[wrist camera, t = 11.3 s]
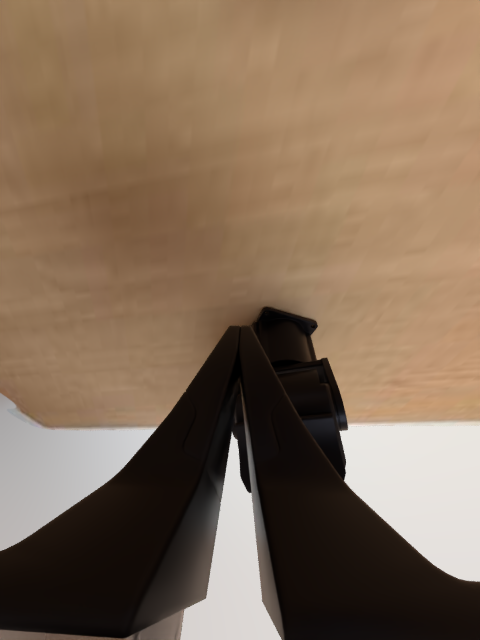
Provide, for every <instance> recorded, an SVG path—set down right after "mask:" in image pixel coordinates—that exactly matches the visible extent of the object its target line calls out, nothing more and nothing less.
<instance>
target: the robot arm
mask: <svg viewBox="0 0 480 640" xmlns="http://www.w3.org/2000/svg"><path fill="white" fill-rule="evenodd" d="M266 312H268V313H266ZM311 325H313V326H311ZM317 327H318V325H317V322H316V321H313V320H310V319H306V318H303V317H299V316H296V315H292V314H289V313H286V312H282V311H279V310H275V309H272V308H268V307H266V308H264V309H263V310H262V312H261V314H260V315H259V317H258V319H257V321H256V322H254V323H253V324H252V326H241V327H240V326H229V328H228V329H227V330H226V332H225V333H224V335H223V336H222V338H221V339H220V341H219V342H218V344H217V345H216V347H215V348H214V350H213V351H212V353H211V354H210V355H209V357H208V358H207V360H206V361H205V363H204V364H203V366H202V367H201V369H200V370H199V372H198V373H197V375H196V376H195V378H194V379H193V380H192V382H191V383H190V385H189V386H188V388H187V389H186V392H184V394H183V395H182V396H181V398H180V399H179V401H178V402H177V404H176V405H175V406H174V408H173V409H172V411H171V412H170V413H169V415H168V416H167V417H166V418H165V419H164V421H163V422H162V423H161V424H160V426H159V427H158V428H157V429H156V430H155V432H154V433H153V434H152V435H151V436H150V438H149V439H148V440H147V441H146V442H145V443H144V445H143V446H142V447H141V448H140V449H139V450H138V452H137V453H136V454H135V455H134V456H133V457H132V459H131V460H130V461H129V462H128V463H127V464H126V465H125V467H124V468H123V469H122V470H121V471H120V472H119V473H118V474H116V475H115V476H114V477H113V478H112V479H111V480H109V481H108V482H107V483H105V484H104V485H103V486H101V487H100V488H98V489H97V490H95V491H94V492H93V493H91V494H90V495H88V496H87V497H85V498H84V499H82V500H81V501H80V502H78V503H77V504H75V505H74V506H72V507H71V508H70V509H68V510H66V511H65V512H64V513H62V514H61V515H59V516H58V517H56V518H55V519H54V520H52V521H51V522H49V523H48V524H46V525H45V526H43V527H42V528H40V529H39V530H38V531H36V532H35V533H33V534H32V535H30V536H29V537H27V538H26V539H24V540H22V541H21V542H19V543H17V544H15V545H13V546H11V547H9V548H7V549H5V550H2V551H0V640H180V636H181V629H182V622H183V615H184V609H186V608H187V607H190V606H192V605H194V604H195V603H198V602H200V601H202V600H204V599H205V598H206V595H207V589H208V582H209V575H210V569H211V563H212V556H213V550H214V543H215V536H216V531H217V524H218V518H219V511H220V505H221V504H220V502H221V498H222V491H223V485H224V478H225V472H226V465H227V459H228V453H229V446H230V440H231V434H232V433H233V435H234V437H235V438H236V439H237V440H238V448H239V459H240V476H241V479H242V481H243V483H244V485H245V487H246V489H247V491H248V492H249V493H252V502H253V512H254V522H255V532H256V540H257V541H256V542H257V550H258V561H259V571H260V581H261V589H262V590H261V591H262V602H263V603H264V605H265V607H266V609H267V611H268V613H269V615H270V617H271V619H272V621H273V623H274V625H275V627H276V629H277V631H278V633H279V635H280V637H281V639H282V640H480V582H475V581H465V580H461V579H458V578H455V577H453V576H451V575H449V574H447V573H445V572H444V571H442V570H441V569H439V568H437V567H436V566H434V565H433V564H432V563H431V562H429V561H428V560H427V559H426V558H425V557H423V556H422V555H421V554H420V553H419V552H418V551H417V550H416V549H415V548H414V547H412V546H411V545H410V544H409V543H408V542H407V541H406V540H405V539H404V538H403V537H402V536H401V535H399V534H398V533H397V532H396V531H395V530H394V529H393V528H392V527H391V526H390V525H389V524H387V523H386V522H385V521H384V520H383V519H382V518H381V517H380V516H379V515H378V514H377V513H376V512H375V511H373V510H372V509H371V508H370V507H369V506H368V505H367V504H366V503H365V502H364V501H363V500H362V499H360V498H359V497H358V496H357V495H356V494H355V493H354V492H353V491H352V490H351V489H350V488H349V487H348V485H347V484H346V483H345V482H344V478H345V474H346V472H345V465H346V459H345V454H344V450H343V445H342V441H341V436H340V432H339V431H342V430H348V425H347V419H346V414H345V409H344V405H343V401H342V398H341V394H340V391H339V388H338V385H337V383H336V380H335V377H334V375H333V372H332V369H331V367H330V364H329V361H328V359H327V358H322V359H321V360H317V359H316V355H315V351H314V347H313V343H312V340H311V335H312V333H313V332H314V331H315V330H316V328H317Z"/></svg>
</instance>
